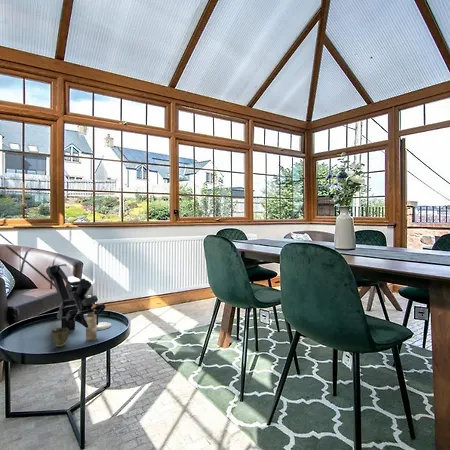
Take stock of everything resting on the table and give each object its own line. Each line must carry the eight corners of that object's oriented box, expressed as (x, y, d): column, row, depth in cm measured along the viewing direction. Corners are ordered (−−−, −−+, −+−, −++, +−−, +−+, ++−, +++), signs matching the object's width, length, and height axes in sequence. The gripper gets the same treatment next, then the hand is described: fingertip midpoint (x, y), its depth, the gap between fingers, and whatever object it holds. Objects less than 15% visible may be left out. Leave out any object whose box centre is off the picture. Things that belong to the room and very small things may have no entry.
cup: (63, 342, 161) (62, 326, 161) (72, 345, 158) (72, 328, 158) (48, 347, 155) (47, 330, 155) (57, 350, 151) (57, 332, 151)
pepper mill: (86, 341, 162) (86, 315, 162) (85, 338, 166) (84, 312, 166) (97, 339, 165) (97, 313, 164) (95, 336, 169) (95, 311, 169)
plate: (92, 331, 177) (91, 329, 177) (88, 326, 187) (88, 324, 187) (113, 327, 183) (113, 325, 183) (108, 322, 192) (108, 321, 192)
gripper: (67, 294, 161) (79, 321, 154) (103, 288, 175) (115, 312, 168) (61, 308, 166) (71, 334, 159) (96, 300, 180) (107, 325, 173)
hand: (92, 326), depth 164 cm, fingers closed on pepper mill, 5 cm apart
